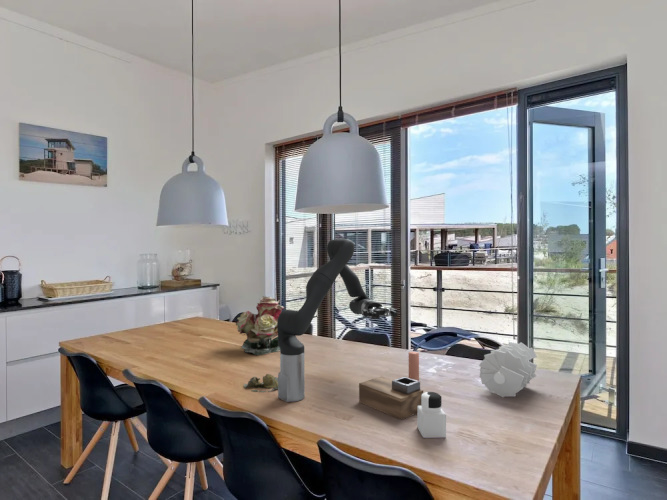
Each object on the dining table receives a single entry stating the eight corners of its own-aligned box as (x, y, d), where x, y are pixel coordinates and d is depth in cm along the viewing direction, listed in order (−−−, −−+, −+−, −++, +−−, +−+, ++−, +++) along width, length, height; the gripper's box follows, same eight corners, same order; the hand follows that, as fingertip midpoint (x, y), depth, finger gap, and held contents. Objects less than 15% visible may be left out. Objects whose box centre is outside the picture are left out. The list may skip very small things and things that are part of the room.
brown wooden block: (401, 419, 133) (401, 389, 132) (359, 402, 148) (359, 375, 148) (423, 410, 140) (423, 381, 140) (381, 394, 156) (381, 368, 155)
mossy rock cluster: (295, 383, 171) (295, 370, 171) (268, 396, 155) (268, 382, 155) (263, 376, 179) (263, 364, 180) (234, 388, 164) (234, 375, 164)
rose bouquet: (232, 347, 230) (232, 295, 230) (280, 341, 243) (280, 292, 243) (244, 358, 207) (244, 300, 207) (296, 351, 221) (296, 297, 221)
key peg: (414, 396, 153) (414, 354, 153) (406, 393, 156) (406, 352, 156) (421, 394, 156) (421, 353, 156) (412, 391, 159) (412, 351, 159)
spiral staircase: (487, 406, 153) (507, 385, 173) (532, 396, 143) (547, 375, 162) (466, 360, 158) (487, 345, 177) (508, 348, 147) (526, 333, 167)
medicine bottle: (439, 427, 127) (439, 389, 127) (446, 437, 120) (446, 398, 120) (417, 427, 127) (417, 389, 127) (422, 438, 120) (422, 398, 120)
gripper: (356, 301, 174) (368, 306, 159) (387, 300, 178) (402, 305, 162) (356, 318, 174) (369, 325, 159) (387, 316, 178) (402, 323, 162)
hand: (385, 315), depth 160 cm, fingers open, 8 cm apart
